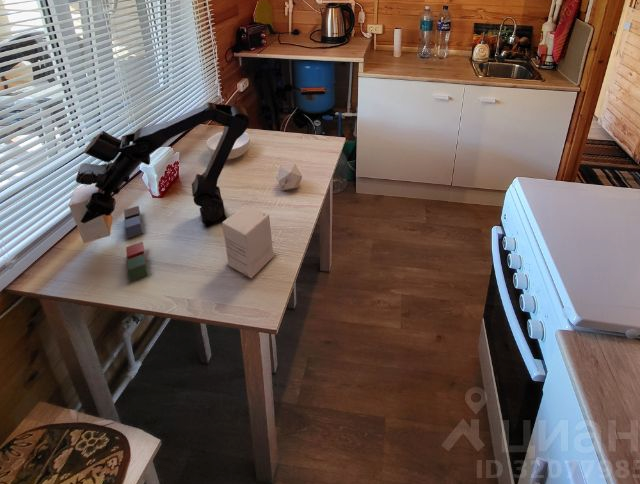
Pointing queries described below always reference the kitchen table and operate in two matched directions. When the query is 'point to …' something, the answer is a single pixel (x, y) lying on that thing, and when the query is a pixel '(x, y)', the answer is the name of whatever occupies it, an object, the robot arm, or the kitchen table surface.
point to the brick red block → (135, 250)
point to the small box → (85, 212)
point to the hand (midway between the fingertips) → (85, 212)
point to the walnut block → (132, 213)
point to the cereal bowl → (238, 148)
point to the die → (289, 177)
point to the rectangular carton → (248, 240)
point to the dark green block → (137, 267)
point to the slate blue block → (133, 226)
